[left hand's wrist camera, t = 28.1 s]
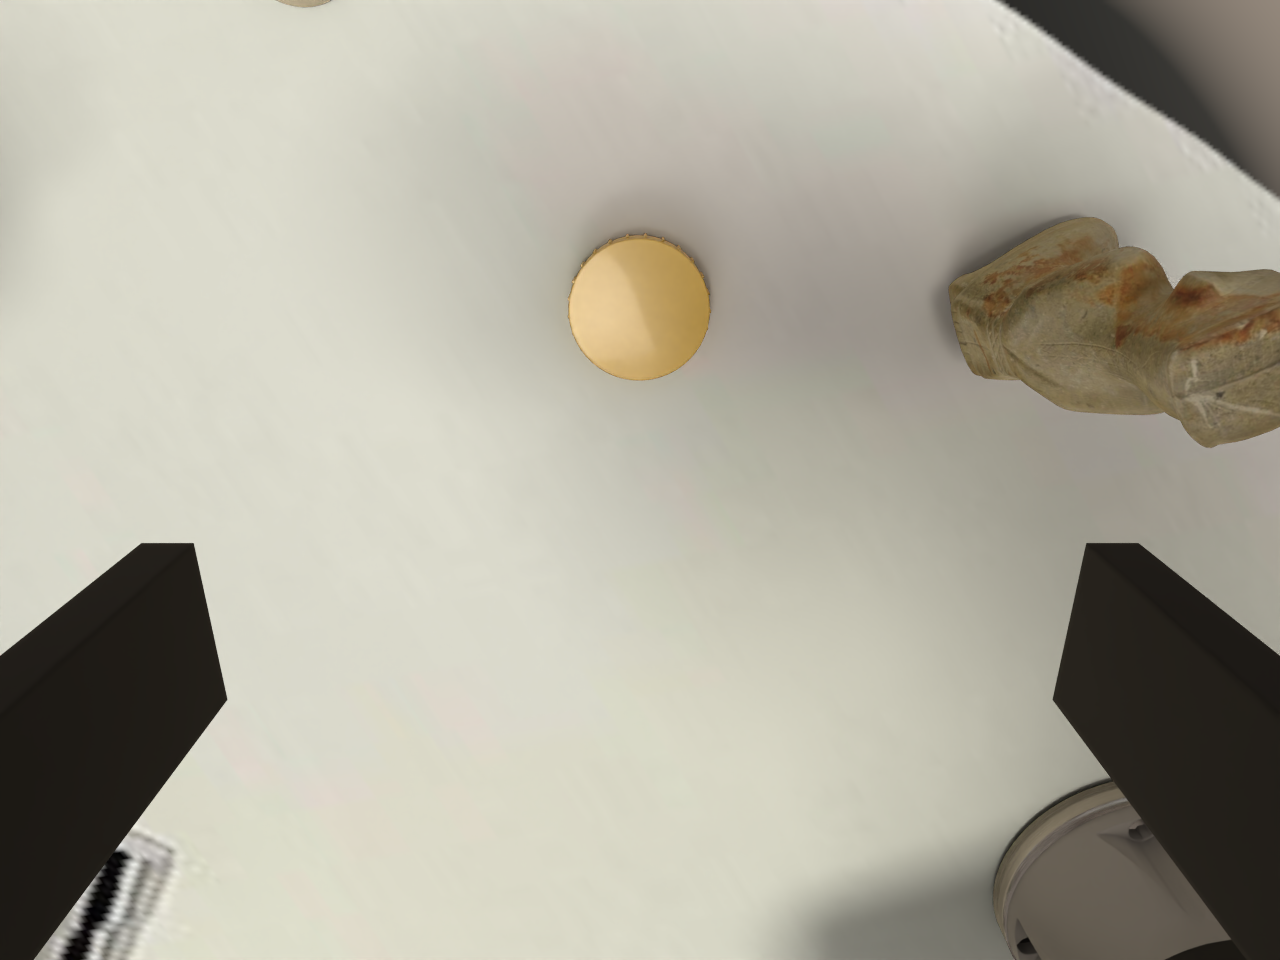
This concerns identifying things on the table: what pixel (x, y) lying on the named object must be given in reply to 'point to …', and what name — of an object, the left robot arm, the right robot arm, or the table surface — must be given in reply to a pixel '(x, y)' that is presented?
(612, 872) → the table surface
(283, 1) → the jar
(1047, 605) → the table surface
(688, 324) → the lid
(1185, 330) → the sculpture
